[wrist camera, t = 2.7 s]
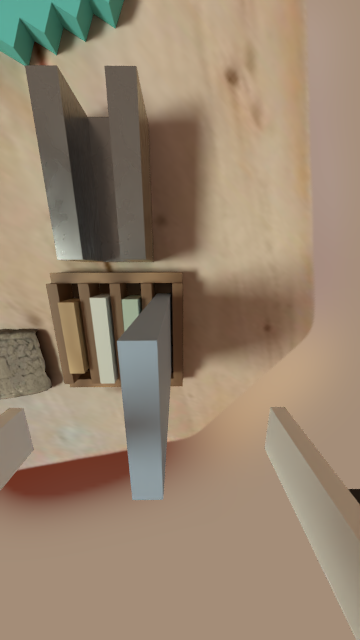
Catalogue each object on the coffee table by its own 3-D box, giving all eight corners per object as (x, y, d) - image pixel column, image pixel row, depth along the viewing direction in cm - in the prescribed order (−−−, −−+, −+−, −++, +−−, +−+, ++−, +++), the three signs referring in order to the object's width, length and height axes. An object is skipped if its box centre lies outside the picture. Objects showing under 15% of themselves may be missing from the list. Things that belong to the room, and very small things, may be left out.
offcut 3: (134, 350, 27) (127, 363, 23) (130, 294, 25) (121, 299, 21) (146, 350, 27) (141, 363, 23) (143, 294, 25) (137, 299, 21)
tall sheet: (159, 361, 27) (132, 499, 11) (157, 293, 25) (116, 340, 8) (171, 361, 27) (163, 499, 11) (170, 293, 25) (157, 340, 8)
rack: (77, 378, 28) (66, 391, 25) (60, 272, 24) (43, 273, 21) (182, 378, 28) (182, 390, 25) (182, 272, 24) (182, 272, 21)
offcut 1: (85, 358, 27) (70, 373, 24) (76, 297, 25) (57, 302, 21) (97, 358, 27) (84, 373, 24) (89, 297, 25) (73, 302, 21)
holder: (86, 261, 24) (57, 259, 18) (69, 124, 20) (25, 65, 14) (153, 261, 24) (145, 259, 18) (148, 124, 20) (136, 66, 14)
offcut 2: (111, 367, 28) (100, 383, 24) (103, 293, 25) (89, 297, 21) (123, 367, 28) (114, 383, 24) (116, 293, 25) (105, 297, 21)
